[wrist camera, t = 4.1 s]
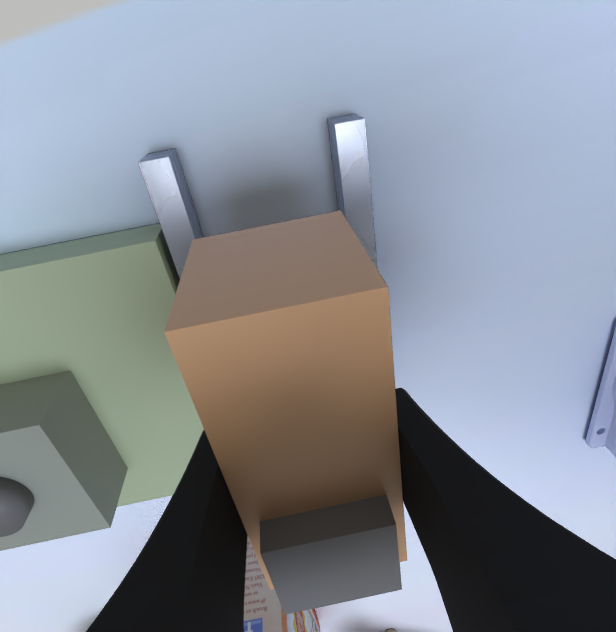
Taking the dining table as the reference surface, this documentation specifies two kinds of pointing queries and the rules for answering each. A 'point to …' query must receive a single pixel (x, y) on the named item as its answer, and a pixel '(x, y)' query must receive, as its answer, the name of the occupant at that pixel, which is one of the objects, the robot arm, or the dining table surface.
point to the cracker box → (269, 604)
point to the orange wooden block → (298, 402)
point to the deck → (88, 384)
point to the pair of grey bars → (349, 179)
